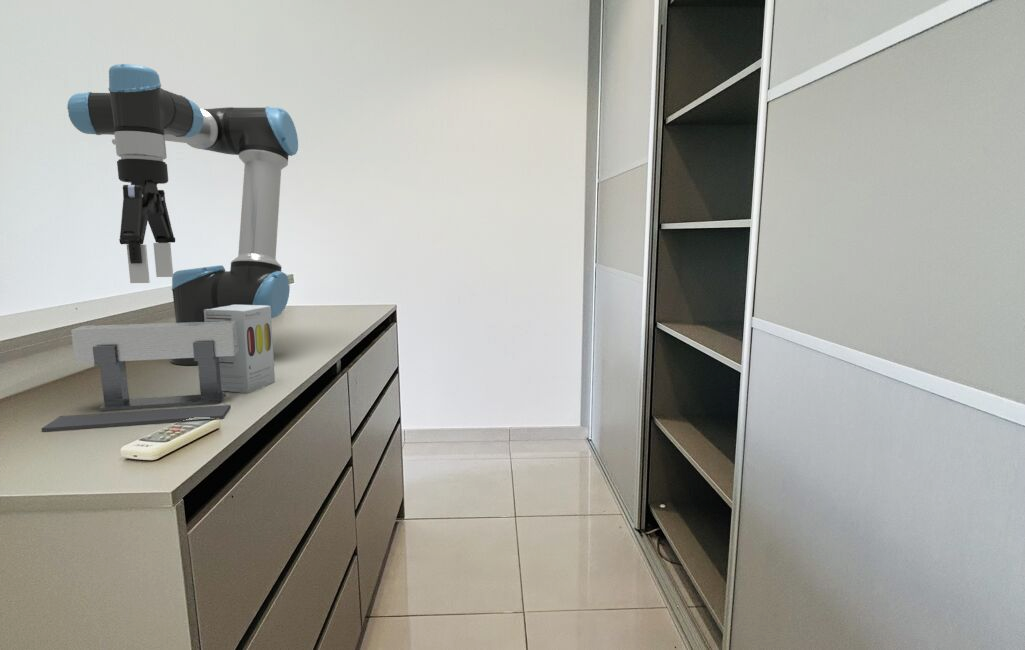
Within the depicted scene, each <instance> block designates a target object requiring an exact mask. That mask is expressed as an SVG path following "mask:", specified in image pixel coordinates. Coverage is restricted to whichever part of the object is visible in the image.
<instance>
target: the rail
mask: <svg viewBox="0 0 1025 650" xmlns="http://www.w3.org/2000/svg"><path fill="white" fill-rule="evenodd" d="M70 332H71V340H72V341H71V342H72V350H73V358H74V364H88V363H89V364H90V363H94V356H93V347H94V346H115V355H116V361H125V362H129V361H130V362H132V361H154V360H155V361H157V360H171V359H178V358H194V351H193V342H213V352H214V357H220V356H235V355H236V354H237V352H238V351H239V346H238V332H237V321H217V322H186V323H176V322H164V323H131V324H129V323H128V324H126V323H125V324H104V325H103V324H100V325H98V324H97V325H95V324H94V325H81V326H79V327H76V328H73V329H70Z"/></svg>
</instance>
